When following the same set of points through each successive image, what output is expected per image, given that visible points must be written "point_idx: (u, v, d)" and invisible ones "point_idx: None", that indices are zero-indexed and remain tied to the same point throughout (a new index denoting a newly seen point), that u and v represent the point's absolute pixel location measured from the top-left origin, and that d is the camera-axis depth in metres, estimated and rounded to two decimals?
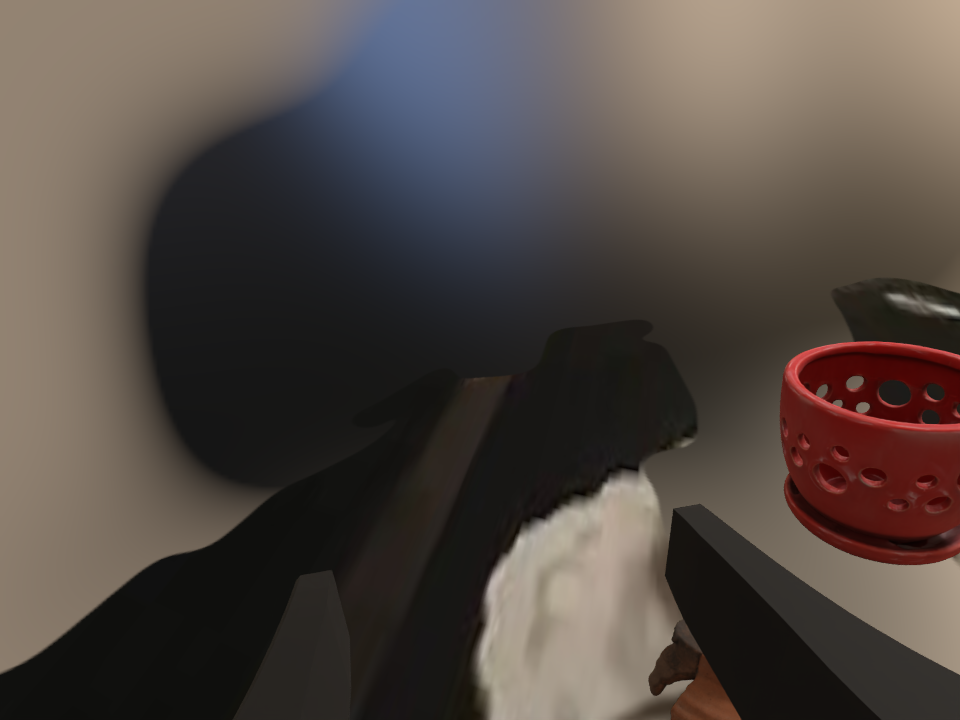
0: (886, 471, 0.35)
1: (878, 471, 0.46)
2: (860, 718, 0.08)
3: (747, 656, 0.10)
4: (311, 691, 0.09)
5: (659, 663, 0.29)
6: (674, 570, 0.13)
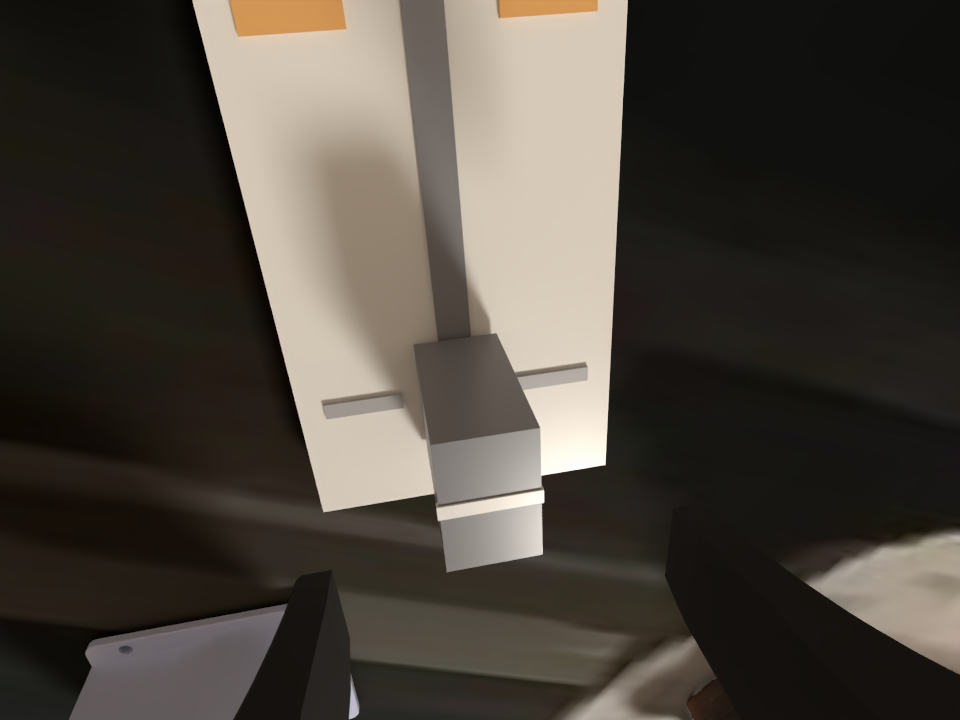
0: None
1: None
2: (860, 718, 0.08)
3: (747, 656, 0.10)
4: (311, 691, 0.09)
5: None
6: (674, 570, 0.13)
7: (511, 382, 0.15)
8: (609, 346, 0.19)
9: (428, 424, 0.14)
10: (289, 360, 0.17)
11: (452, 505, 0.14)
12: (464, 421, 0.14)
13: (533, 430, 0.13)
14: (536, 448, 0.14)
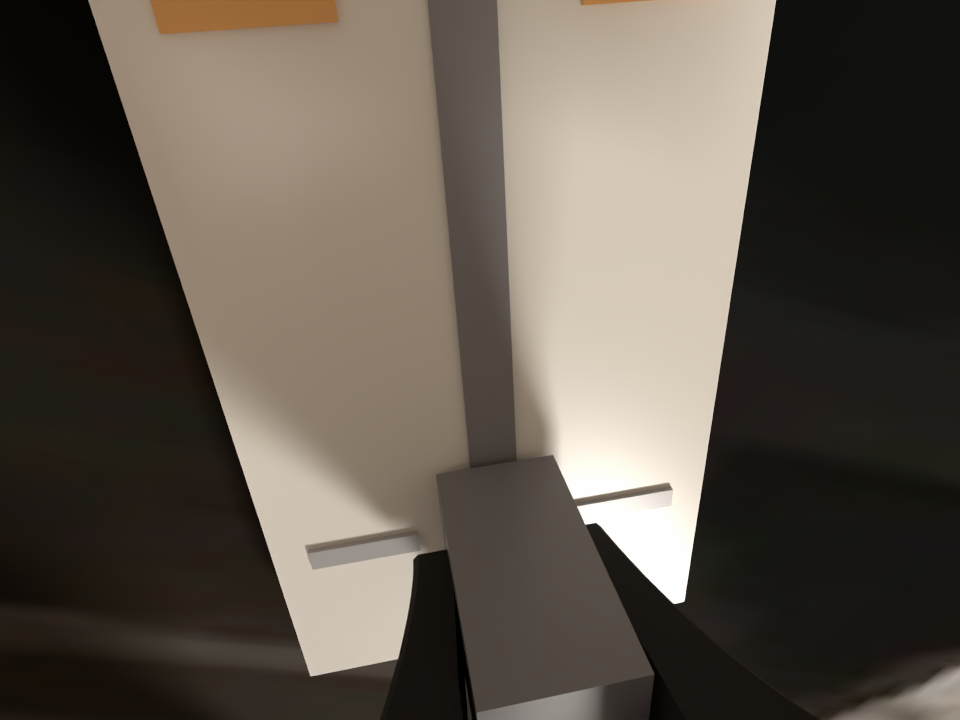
0: None
1: None
2: None
3: None
4: None
5: None
6: None
7: (590, 561, 0.10)
8: (702, 460, 0.14)
9: (469, 657, 0.09)
10: (259, 497, 0.12)
11: None
12: (528, 651, 0.09)
13: (643, 678, 0.08)
14: (645, 700, 0.08)
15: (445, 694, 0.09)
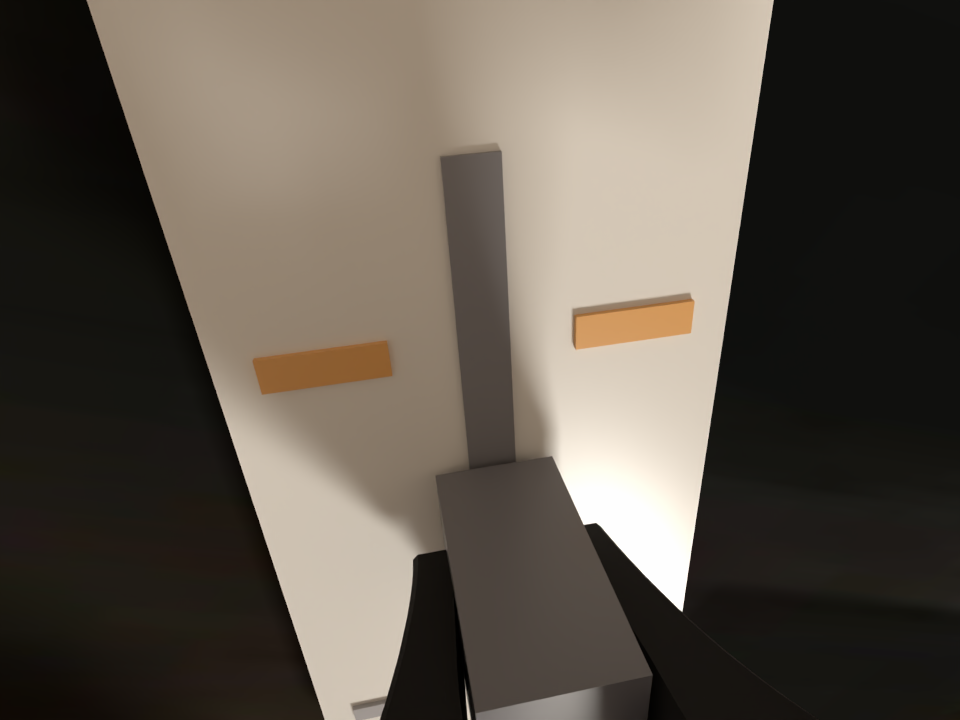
0: None
1: None
2: None
3: None
4: (456, 662, 0.09)
5: None
6: None
7: (589, 562, 0.10)
8: None
9: (468, 658, 0.09)
10: (315, 673, 0.15)
11: None
12: (526, 653, 0.09)
13: (641, 678, 0.08)
14: (643, 701, 0.08)
15: (445, 694, 0.09)
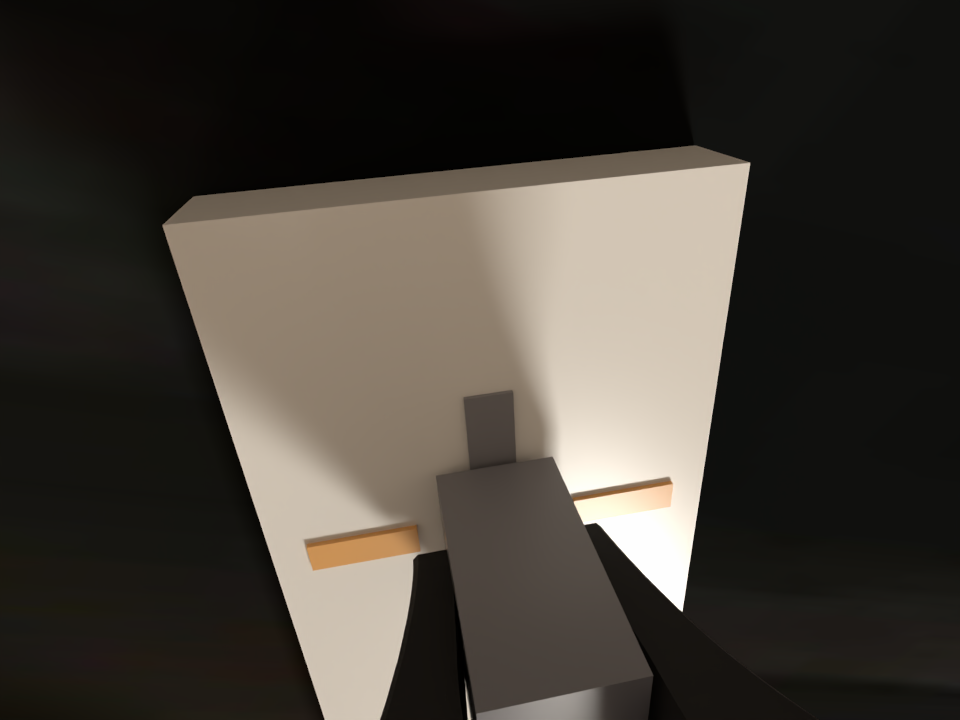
0: None
1: None
2: None
3: None
4: (457, 662, 0.09)
5: None
6: None
7: (589, 562, 0.10)
8: None
9: (469, 659, 0.09)
10: None
11: None
12: (527, 653, 0.09)
13: (641, 679, 0.08)
14: (643, 701, 0.08)
15: (445, 694, 0.09)
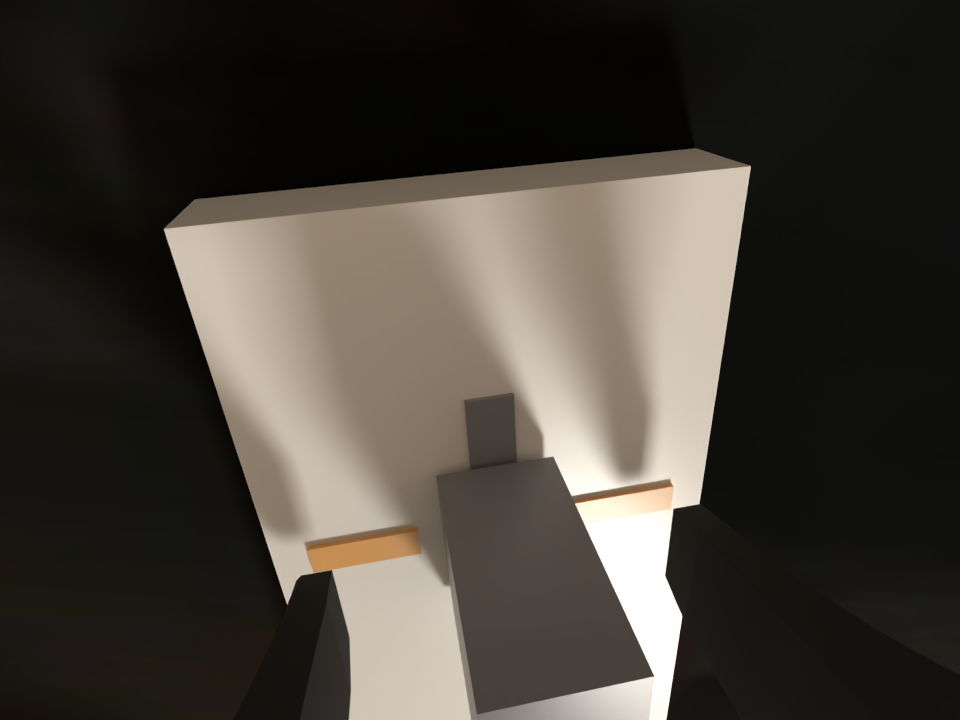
0: None
1: None
2: (860, 718, 0.08)
3: (747, 656, 0.10)
4: (311, 691, 0.09)
5: None
6: (674, 570, 0.13)
7: (590, 563, 0.10)
8: (664, 719, 0.19)
9: (470, 659, 0.09)
10: None
11: None
12: (528, 653, 0.09)
13: (643, 680, 0.08)
14: (645, 702, 0.08)
15: None
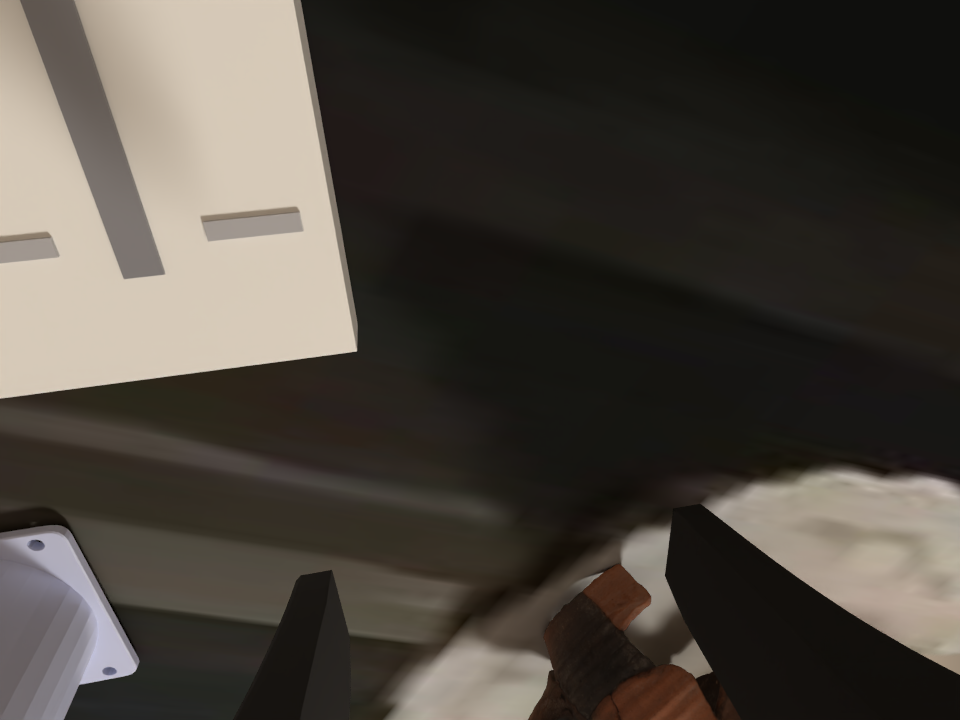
0: None
1: None
2: (860, 718, 0.08)
3: (747, 656, 0.10)
4: (311, 691, 0.09)
5: None
6: (674, 570, 0.13)
7: None
8: (327, 186, 0.15)
9: None
10: None
11: None
12: None
13: None
14: None
15: None
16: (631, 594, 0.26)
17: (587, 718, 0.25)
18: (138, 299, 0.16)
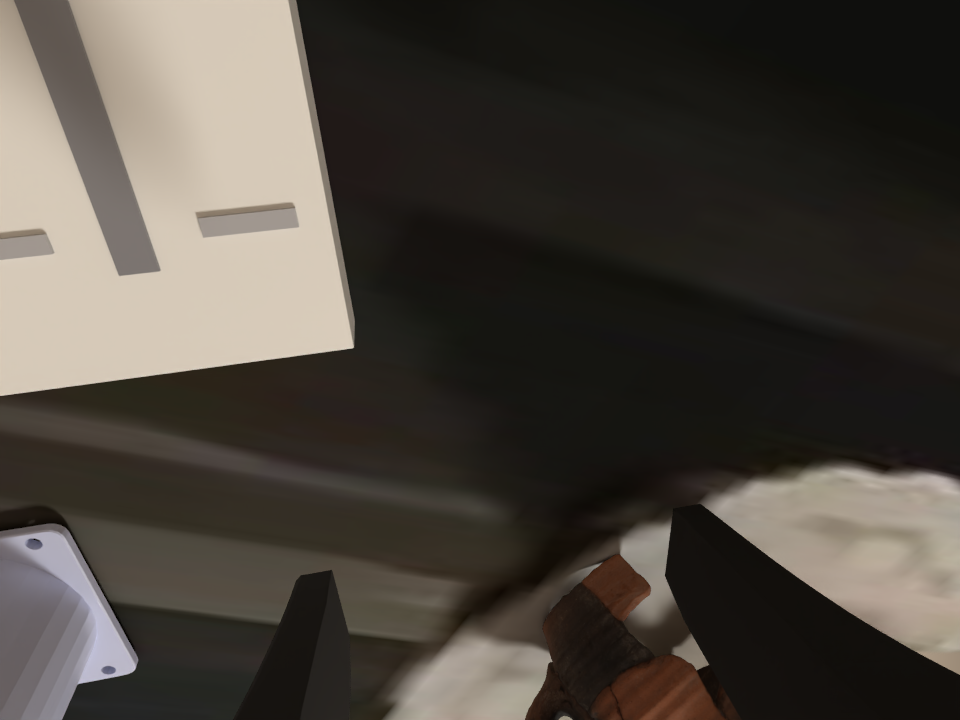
0: None
1: None
2: (860, 718, 0.08)
3: (747, 656, 0.10)
4: (311, 691, 0.09)
5: None
6: (674, 570, 0.13)
7: None
8: (323, 182, 0.15)
9: None
10: None
11: None
12: None
13: None
14: None
15: None
16: (631, 584, 0.25)
17: (586, 710, 0.25)
18: (134, 296, 0.16)
